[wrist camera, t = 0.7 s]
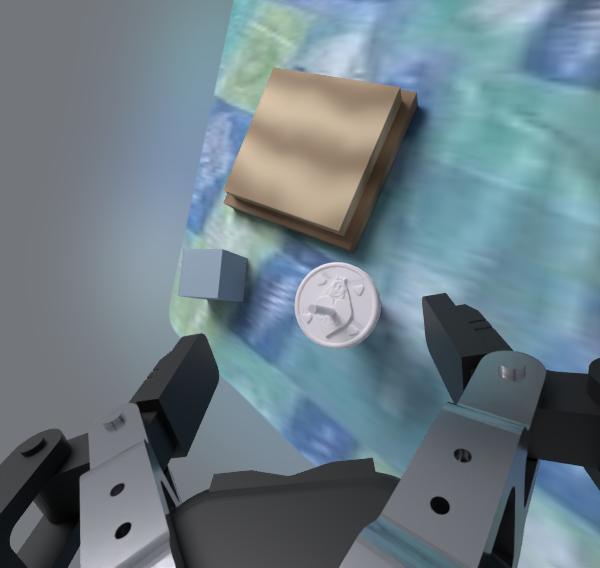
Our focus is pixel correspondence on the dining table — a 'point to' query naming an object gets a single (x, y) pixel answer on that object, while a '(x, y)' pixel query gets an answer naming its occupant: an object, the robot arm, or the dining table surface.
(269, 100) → the plinth
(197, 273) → the slate cube
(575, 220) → the dining table surface
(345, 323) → the smoothie
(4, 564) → the robot arm
